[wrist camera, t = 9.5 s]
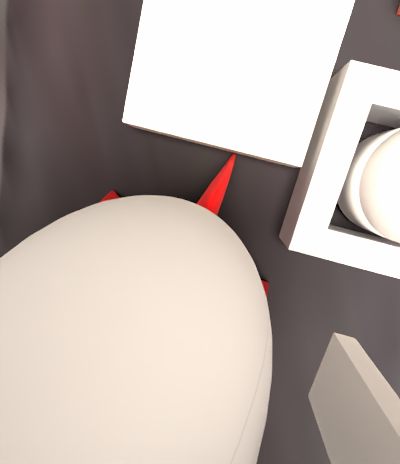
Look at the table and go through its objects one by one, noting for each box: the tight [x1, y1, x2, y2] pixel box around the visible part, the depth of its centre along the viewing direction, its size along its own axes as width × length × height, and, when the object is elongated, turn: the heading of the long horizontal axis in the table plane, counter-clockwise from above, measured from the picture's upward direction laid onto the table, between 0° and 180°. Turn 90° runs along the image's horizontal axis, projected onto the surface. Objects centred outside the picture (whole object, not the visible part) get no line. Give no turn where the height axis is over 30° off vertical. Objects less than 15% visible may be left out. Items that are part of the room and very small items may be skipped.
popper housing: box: [279, 60, 400, 279], centre depth 20 cm, size 12×12×4 cm
